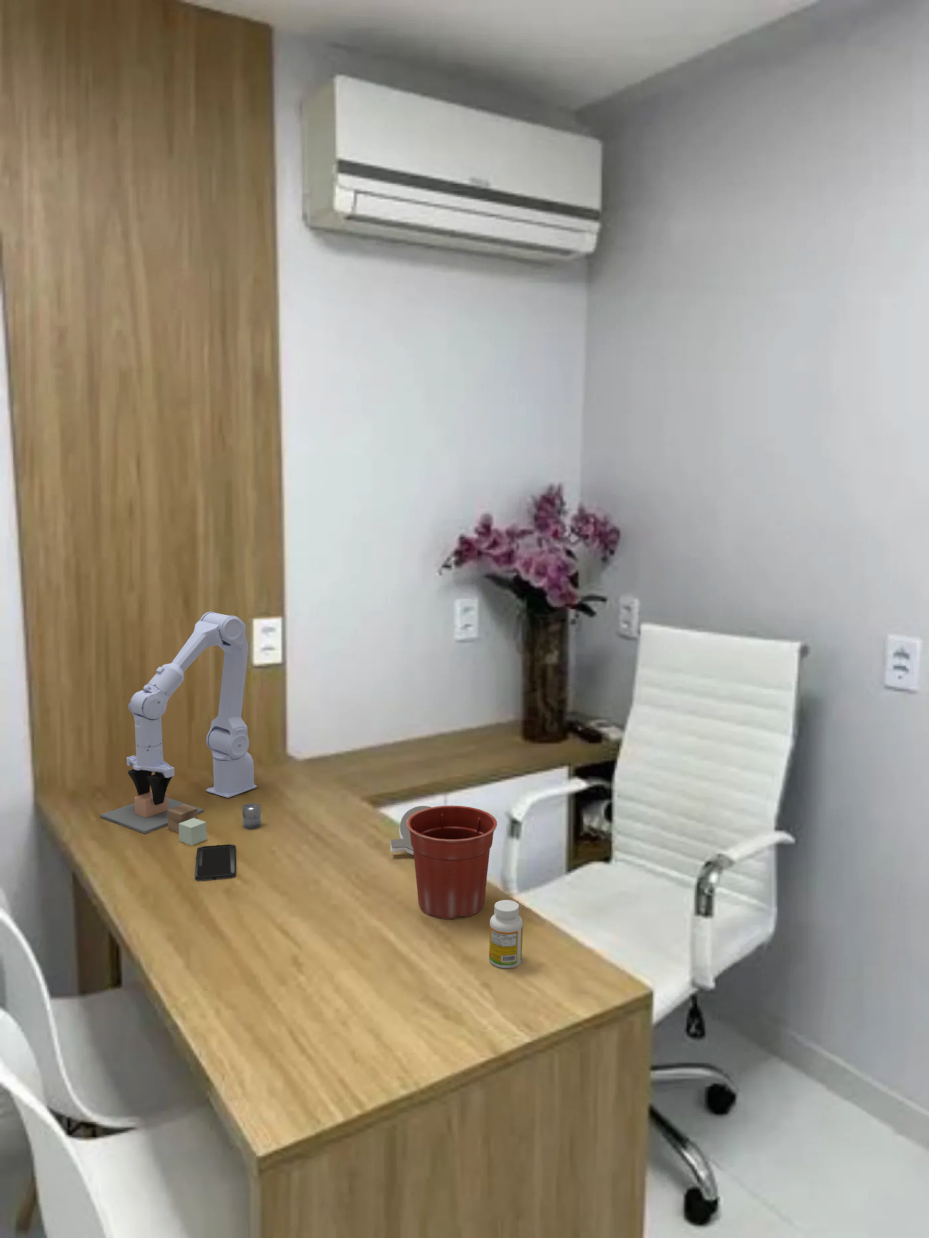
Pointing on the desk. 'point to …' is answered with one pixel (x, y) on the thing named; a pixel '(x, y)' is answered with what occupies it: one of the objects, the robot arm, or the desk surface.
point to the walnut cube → (180, 816)
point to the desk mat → (139, 823)
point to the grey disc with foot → (405, 833)
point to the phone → (215, 862)
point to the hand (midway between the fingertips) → (151, 801)
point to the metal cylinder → (251, 816)
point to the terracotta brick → (149, 805)
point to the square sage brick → (192, 831)
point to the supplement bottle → (506, 935)
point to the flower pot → (451, 858)
